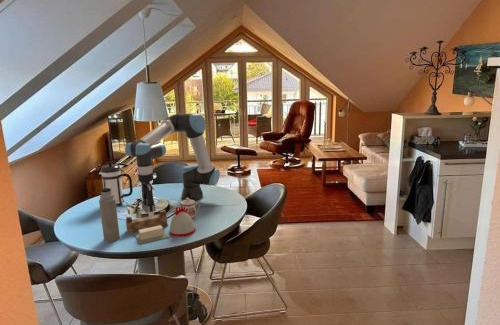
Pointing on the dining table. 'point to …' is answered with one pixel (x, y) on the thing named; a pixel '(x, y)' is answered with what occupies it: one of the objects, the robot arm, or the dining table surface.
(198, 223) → the dining table surface
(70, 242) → the dining table surface
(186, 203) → the teacup with lid
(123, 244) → the dining table surface
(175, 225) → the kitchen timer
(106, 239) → the thermos bottle
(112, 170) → the coffee press
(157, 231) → the butter dish
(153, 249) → the dining table surface
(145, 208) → the lever cap
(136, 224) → the hand plane
